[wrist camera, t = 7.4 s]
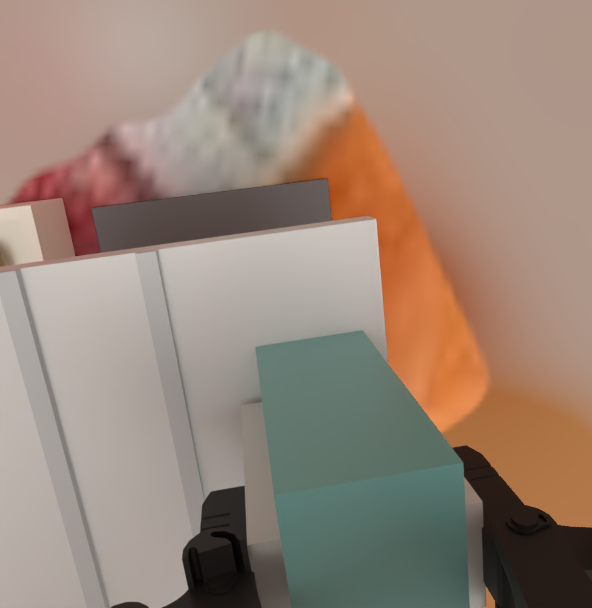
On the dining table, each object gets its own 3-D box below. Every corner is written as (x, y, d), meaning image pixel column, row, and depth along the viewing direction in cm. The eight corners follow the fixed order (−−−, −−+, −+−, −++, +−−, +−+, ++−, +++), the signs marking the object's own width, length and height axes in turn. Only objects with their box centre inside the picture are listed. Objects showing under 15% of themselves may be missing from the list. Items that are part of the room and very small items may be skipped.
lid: (-56, 634, 20) (-275, 998, 11) (-184, 292, 16) (-643, 441, 8) (396, 549, 21) (510, 817, 13) (368, 215, 18) (498, 270, 9)
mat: (128, 378, 45) (128, 380, 44) (92, 207, 41) (91, 208, 41) (343, 345, 46) (343, 347, 46) (326, 178, 43) (327, 178, 42)
